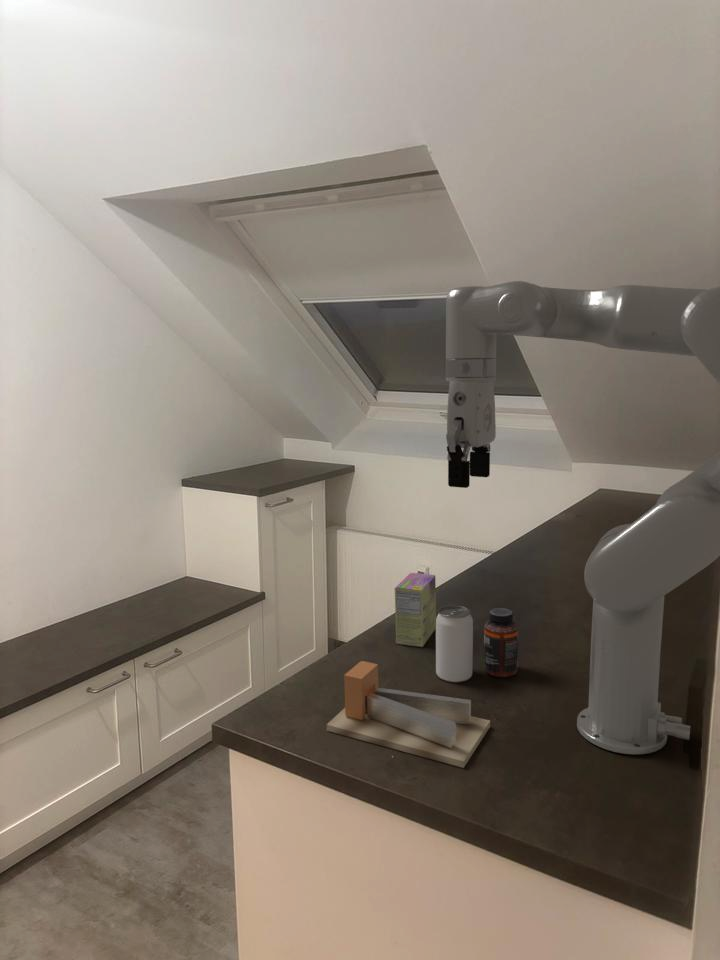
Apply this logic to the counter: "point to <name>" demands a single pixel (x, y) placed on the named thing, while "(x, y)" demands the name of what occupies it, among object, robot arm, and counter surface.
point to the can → (454, 644)
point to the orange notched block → (359, 688)
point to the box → (415, 609)
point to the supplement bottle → (501, 644)
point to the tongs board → (413, 737)
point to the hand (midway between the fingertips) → (469, 481)
